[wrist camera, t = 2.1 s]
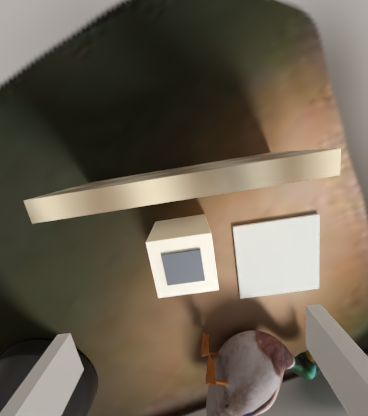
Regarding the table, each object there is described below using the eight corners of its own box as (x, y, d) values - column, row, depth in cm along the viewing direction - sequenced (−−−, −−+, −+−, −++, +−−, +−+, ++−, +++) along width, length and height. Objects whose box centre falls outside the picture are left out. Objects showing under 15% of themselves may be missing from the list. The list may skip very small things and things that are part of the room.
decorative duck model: (359, 376, 21) (300, 469, 24) (309, 320, 28) (268, 397, 31) (231, 355, 19) (184, 461, 22) (212, 300, 26) (179, 385, 29)
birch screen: (97, 195, 23) (31, 223, 13) (93, 181, 22) (23, 200, 13) (271, 167, 22) (340, 175, 12) (270, 152, 21) (340, 148, 12)
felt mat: (239, 296, 26) (240, 298, 26) (232, 226, 24) (233, 227, 23) (317, 286, 26) (319, 288, 25) (317, 213, 23) (319, 214, 23)
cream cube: (164, 265, 25) (157, 299, 19) (155, 221, 24) (145, 243, 18) (211, 258, 25) (219, 291, 19) (205, 213, 23) (211, 233, 17)
